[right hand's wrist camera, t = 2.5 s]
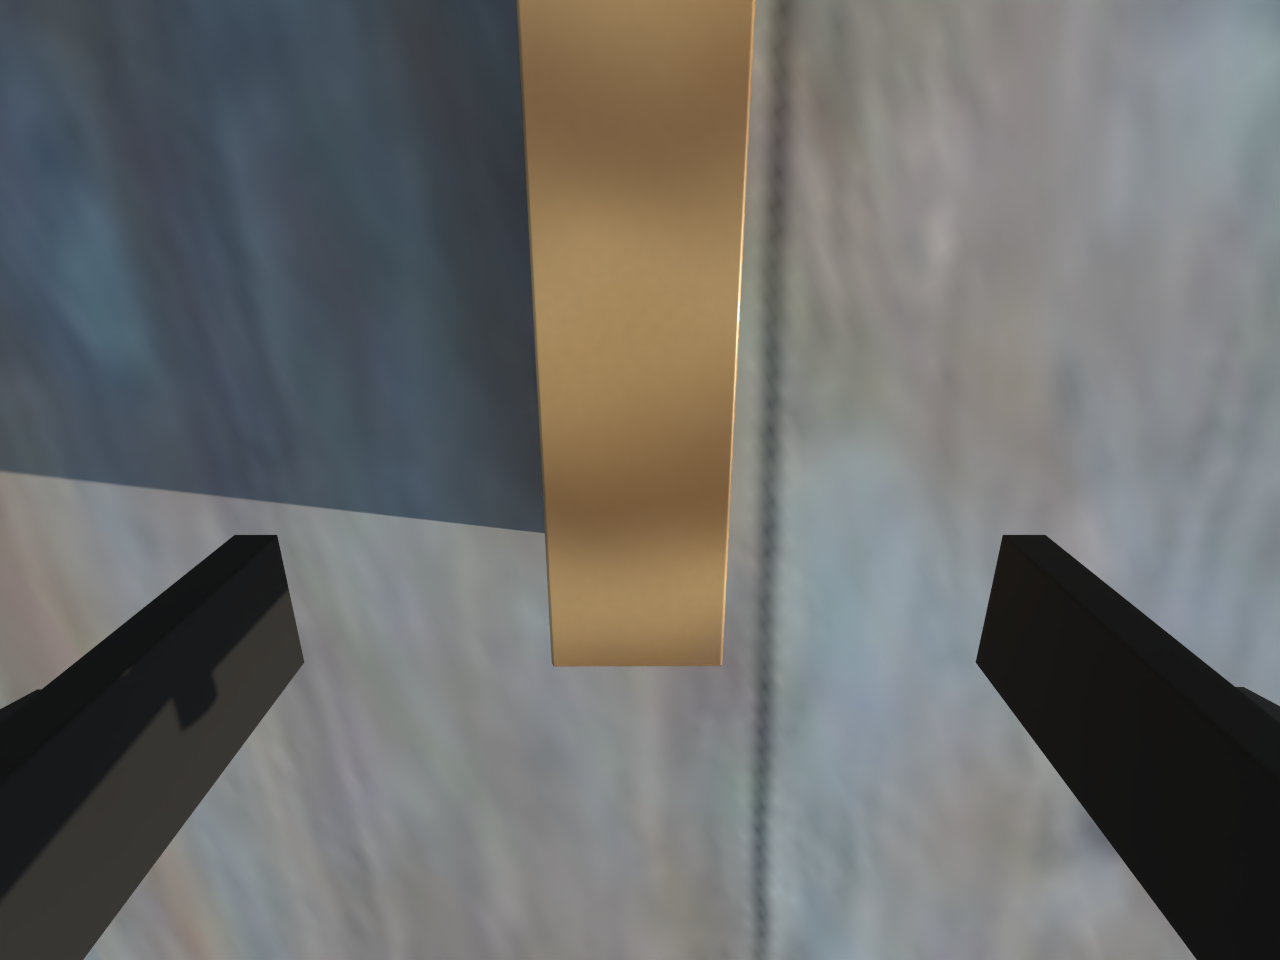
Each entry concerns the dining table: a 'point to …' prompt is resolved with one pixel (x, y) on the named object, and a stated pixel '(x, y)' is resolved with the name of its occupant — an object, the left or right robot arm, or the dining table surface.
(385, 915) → the dining table surface
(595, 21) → the bar
